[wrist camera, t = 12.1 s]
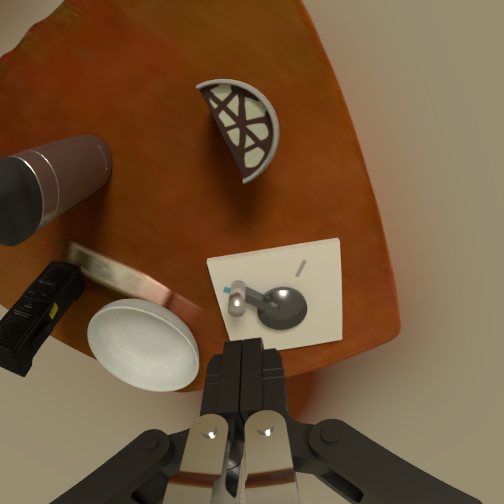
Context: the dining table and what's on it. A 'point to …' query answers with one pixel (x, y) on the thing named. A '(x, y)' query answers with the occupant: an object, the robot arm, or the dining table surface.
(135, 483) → the robot arm
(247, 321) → the dial plate
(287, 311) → the dial
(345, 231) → the dining table surface
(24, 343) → the portable radio
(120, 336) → the serving bowl
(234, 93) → the food container
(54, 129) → the dining table surface
